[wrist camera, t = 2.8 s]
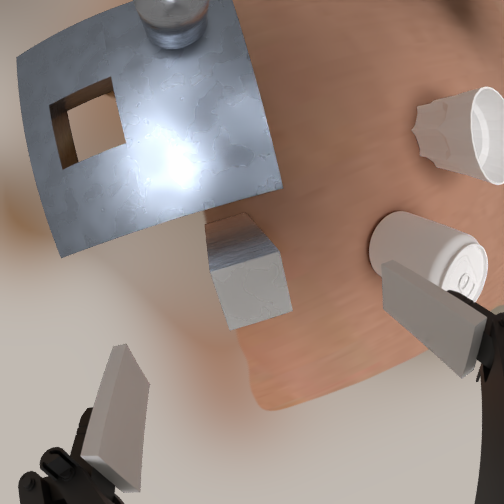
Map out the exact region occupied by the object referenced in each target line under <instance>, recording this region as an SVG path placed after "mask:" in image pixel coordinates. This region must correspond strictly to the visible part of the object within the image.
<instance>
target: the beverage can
mask: <svg viewBox="0 0 504 504" xmlns="http://www.w3.org/2000/svg"><path fill="white" fill-rule="evenodd" d="M369 258H370V262H371V265H372V267H373V269H374V270H375V272H376V273H377V274H378V275H380V276H381V277H382V271H381V264H382V263H385V262H388V261H390V260H394V261H396V262H398V263H400V264H401V265H403V266H405V267H407V268H408V269H410V270H412V271H414V272H415V273H417V274H419V275H420V276H422V277H424V278H425V279H427V280H429V281H430V282H432V283H434V284H435V285H437V286H439V287H440V288H442V289H444V290H445V291H448V290H452V291H456V292H459V293H461V294H463V295H464V296H466V297H467V298H469V299H471V300H473V302H476V300H477V299H478V297H479V295H480V293H481V291H482V289H483V286H484V283H485V280H486V276H487V270H488V259H487V254H486V251H485V250H484V248H483V247H482V246H481V245H479V243H478V242H477V240H476V239H475V238H474V237H473V236H471V235H469V234H467V233H464V232H462V231H459V230H456V229H454V228H451V227H448V226H446V225H443V224H440V223H437V222H435V221H432V220H429V219H426V218H423V217H420V216H417V215H414V214H411V213H408V212H405V211H397V212H393V213H391V214H389V215H388V216H386V217H385V218H384V219H383V220H382V221H381V222H380V223H379V224H378V225H377V227H376V229H375V230H374V232H373V235H372V237H371V241H370V246H369Z"/></svg>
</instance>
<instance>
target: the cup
mask: <svg viewBox="0 0 504 504" xmlns="http://www.w3.org/2000/svg"><path fill="white" fill-rule="evenodd" d="M417 113H418V114H417V119H416V123H415V126H414V127H413V128H412V130H411V131H412V132H413V133H414V134H415V136H416V139H417V142H418V145H419V148H420V156H422V157H427V158H428V159H430V160H431V161H433V162H434V164H435V166H436V167H437V168H441V169H445V170H449V171H453V172H457V173H460V174H464V175H468V176H471V177H474V178H477V179H481V180H484V181H487V182H490V183H493V184H496V185H500V184H503V183H504V99H503V97H502V96H501V95H500V94H499V93H498V92H497V91H496V90H494V89H493V88H490V87H482V88H478V89H474V90H471V91H467V92H463V93H460V94H458V95H455V96H451V97H446V98H441V99H437V100H433V101H432V102H431V103H430V104H426V105H421V106H417Z"/></svg>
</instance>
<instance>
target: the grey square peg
mask: <svg viewBox="0 0 504 504" xmlns="http://www.w3.org/2000/svg"><path fill="white" fill-rule="evenodd" d="M205 233H206V243H207V251H208V260H209V269H210V274H211V277H212V280H213V283H214V286H215V289H216V292H217V295H218V298H219V301H220V304H221V307H222V309H223V312H224V315H225V318H226V321H227V324H228V327H229V330H234V329H237V328H240V327H244V326H247V325H250V324H254V323H257V322H260V321H263V320H266V319H270V318H273V317H276V316H279V315H282V314H285V313H288V312H291V311H293V310H292V305H291V301H290V296H289V291H288V287H287V282H286V278H285V273H284V269H283V264H282V260H281V255H280V251H279V250H278V249H277V248H276V247H275V245H274V244H273V243H272V242H271V241H270V240H269V238H268V237H267V236H266V235H265V234H264V233H263V232H262V230H261V229H260V228H259V227H258V226H257V225H256V224H255V222H254V221H253V220H252V219H251V218H250V217H249V216H248V215H247V213H242V214H239V215H235V216H232V217H228V218H225V219H222V220H218V221H215V222H211V223H208V224H205Z"/></svg>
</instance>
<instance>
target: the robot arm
mask: <svg viewBox="0 0 504 504" xmlns="http://www.w3.org/2000/svg"><path fill="white" fill-rule="evenodd" d="M381 271H382V290H383V309H384V310H385V311H386V312H387V313H388V314H390V315H391V316H392V317H393V318H394V319H395V320H397V321H398V322H399V323H400V324H401V325H402V326H403V327H405V328H406V329H407V330H408V331H409V332H410V333H412V334H413V335H414V336H415V337H416V338H417V339H418V340H419V341H421V342H422V343H423V344H424V345H425V346H426V347H427V348H428V349H430V350H431V351H432V352H433V353H434V354H435V355H436V356H437V357H438V358H440V359H441V360H442V361H443V362H444V363H445V364H446V365H447V366H448V367H450V368H451V369H452V370H453V371H454V372H455V373H456V374H457V375H458V376H459V377H460V378H461V379H462V378H463V377H465V376H466V375H468V374H469V373H470V372H472V371H473V370H474V367H475V363H476V360H478V361H480V362H481V366H480V369H479V372H478V375H477V378H476V382H478V381H479V378H480V376H481V391H482V445H481V461H480V470H479V479H478V486H477V493H476V499H475V504H504V312H503V313H499V314H497V315H494V314H493V313H492V312H490V311H488V310H487V309H485V308H484V307H482V306H481V305H479V304H477V303H476V302H473V300H471V299H469V298H467V297H466V296H464V295H463V294H461V293H459V292H456V291H452V290H448V291H445V290H444V289H442V288H440V287H439V286H437V285H435V284H434V283H432V282H430V281H429V280H427V279H425V278H424V277H422V276H420V275H419V274H417V273H415V272H414V271H412V270H410V269H408V268H407V267H405V266H403V265H401V264H400V263H398V262H396V261H394V260H390V261H388V262H385V263H382V264H381ZM149 386H150V384H149V382H148V380H147V379H146V377H145V376H144V374H143V372H142V370H141V369H140V367H139V365H138V364H137V362H136V360H135V358H134V357H133V355H132V353H131V351H130V349H129V348H128V346H127V344H123V345H118V346H114V347H113V349H112V352H111V354H110V357H109V361H108V363H107V366H106V369H105V372H104V375H103V378H102V381H101V384H100V387H99V390H98V394H97V397H96V400H95V403H94V407H93V408H87V409H86V411H85V412H84V414H83V415H82V417H81V419H80V423H79V428H78V429H77V435H76V436H75V440H74V444H73V447H72V451H71V455H70V456H69V455H68V454H67V453H66V452H65V451H64V450H63V449H62V448H59V447H55V448H51V449H49V450H47V451H46V452H45V453H44V454H43V456H42V457H41V460H40V469H41V470H42V471H44V472H45V473H46V474H47V475H48V477H44V478H42V477H40V476H39V475H38V474H37V473H36V472H33V471H30V472H27V473H25V474H24V475H23V476H22V477H21V478H20V480H19V485H18V488H19V497H20V504H124V503H123V501H122V500H121V499H120V498H119V497H118V496H117V495H116V494H115V493H114V492H115V486H116V487H117V488H118V489H119V490H121V491H122V492H140V486H141V467H142V453H143V440H144V429H145V419H146V411H147V410H146V409H147V401H148V393H149Z"/></svg>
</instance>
